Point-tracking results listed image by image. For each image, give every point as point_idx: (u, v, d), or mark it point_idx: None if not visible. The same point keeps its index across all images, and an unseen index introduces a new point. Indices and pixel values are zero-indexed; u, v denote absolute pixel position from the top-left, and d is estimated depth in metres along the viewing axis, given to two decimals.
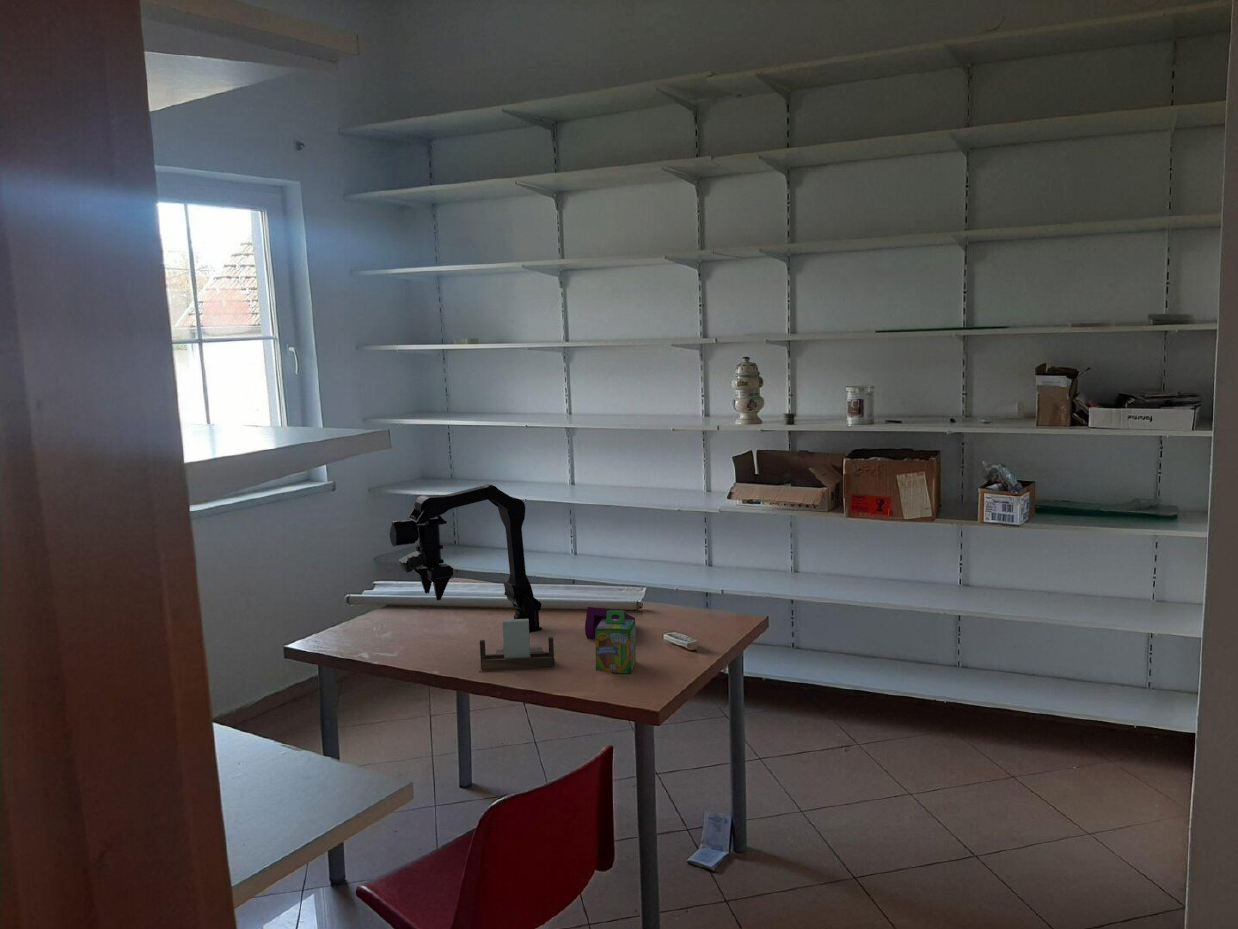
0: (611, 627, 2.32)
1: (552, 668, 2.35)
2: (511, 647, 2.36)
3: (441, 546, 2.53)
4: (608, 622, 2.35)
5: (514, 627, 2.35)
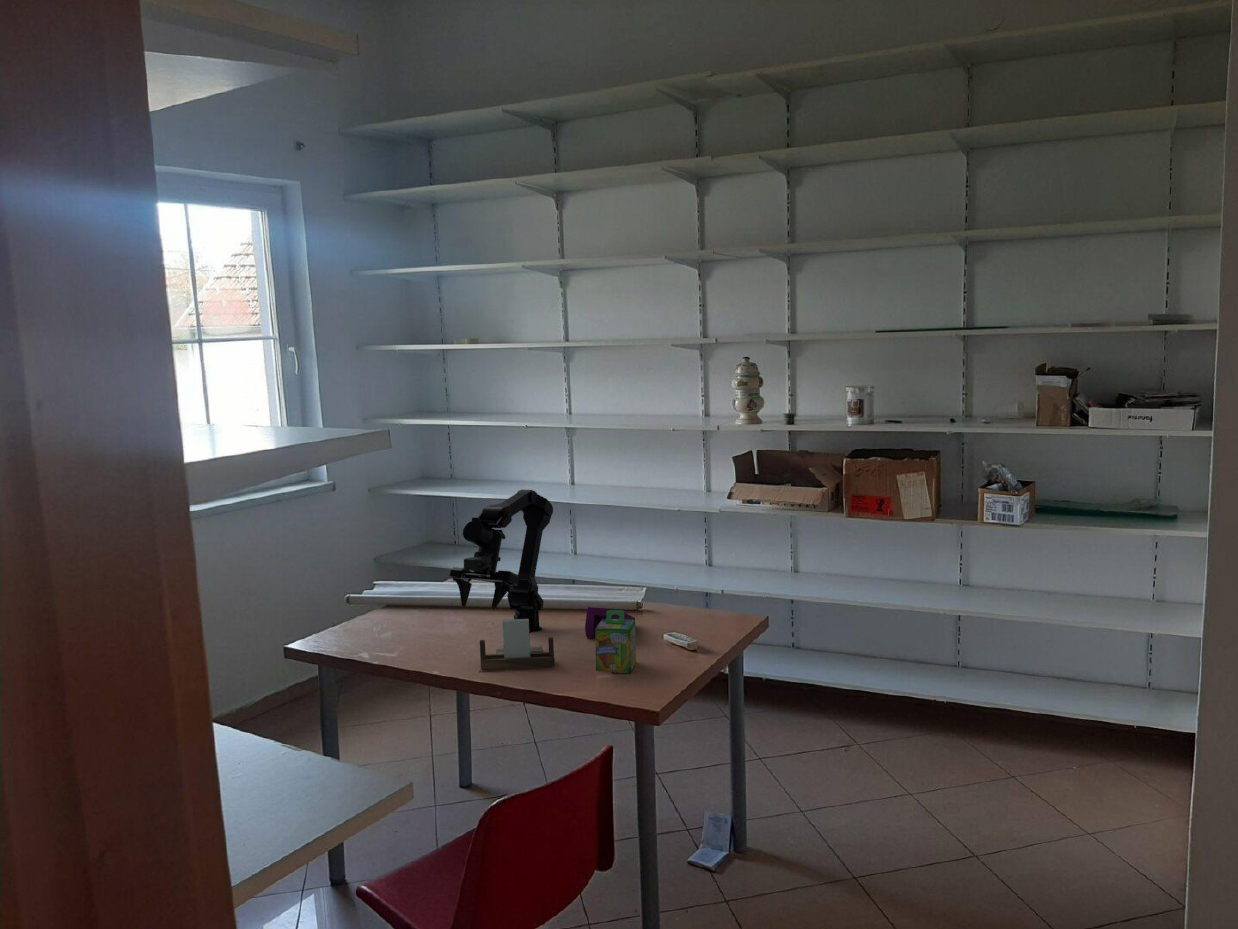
0: (611, 627, 2.32)
1: (552, 668, 2.35)
2: (511, 647, 2.36)
3: (499, 558, 2.51)
4: (608, 622, 2.35)
5: (514, 627, 2.35)
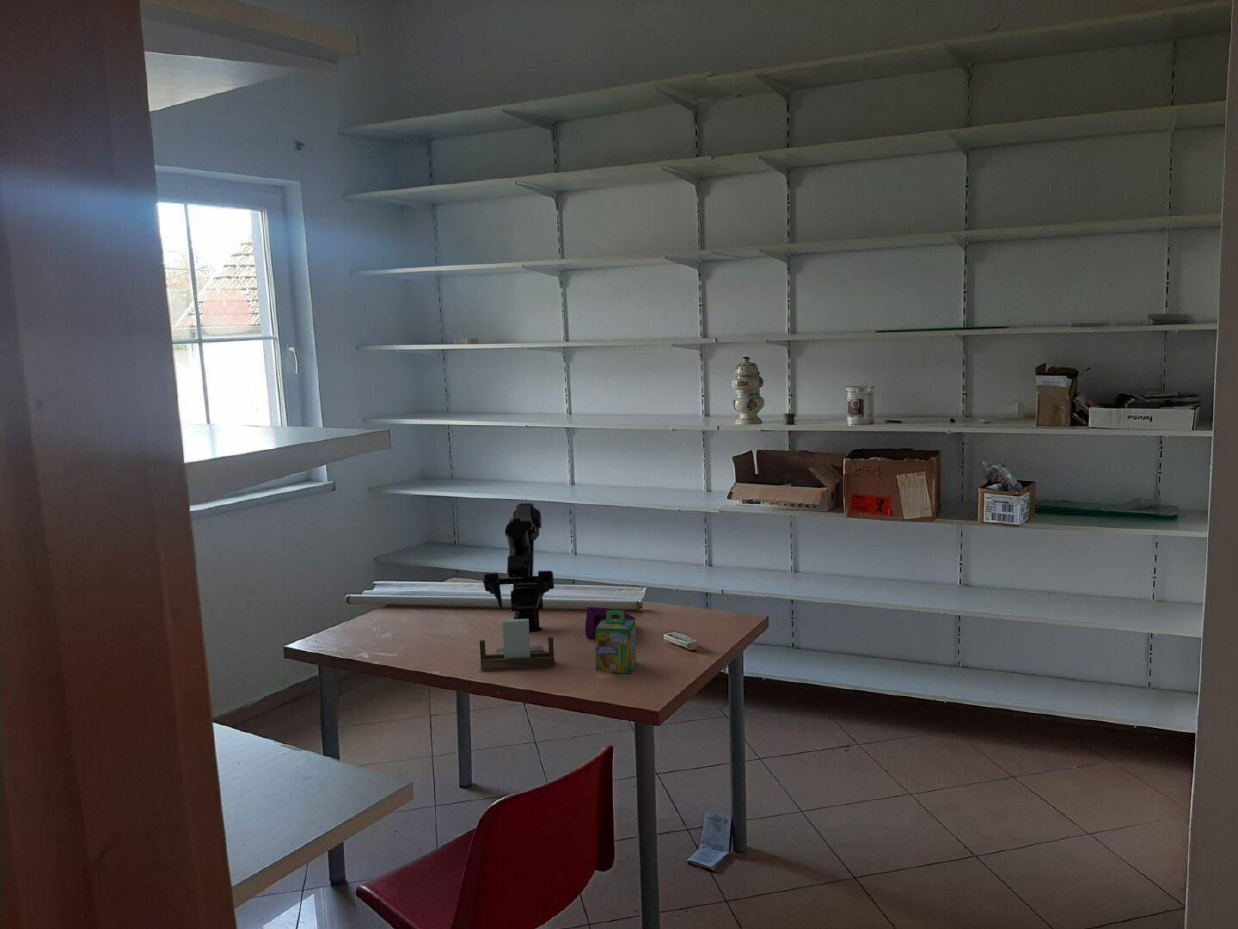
0: (611, 627, 2.32)
1: (552, 668, 2.35)
2: (511, 647, 2.36)
3: None
4: (608, 622, 2.35)
5: (514, 627, 2.35)
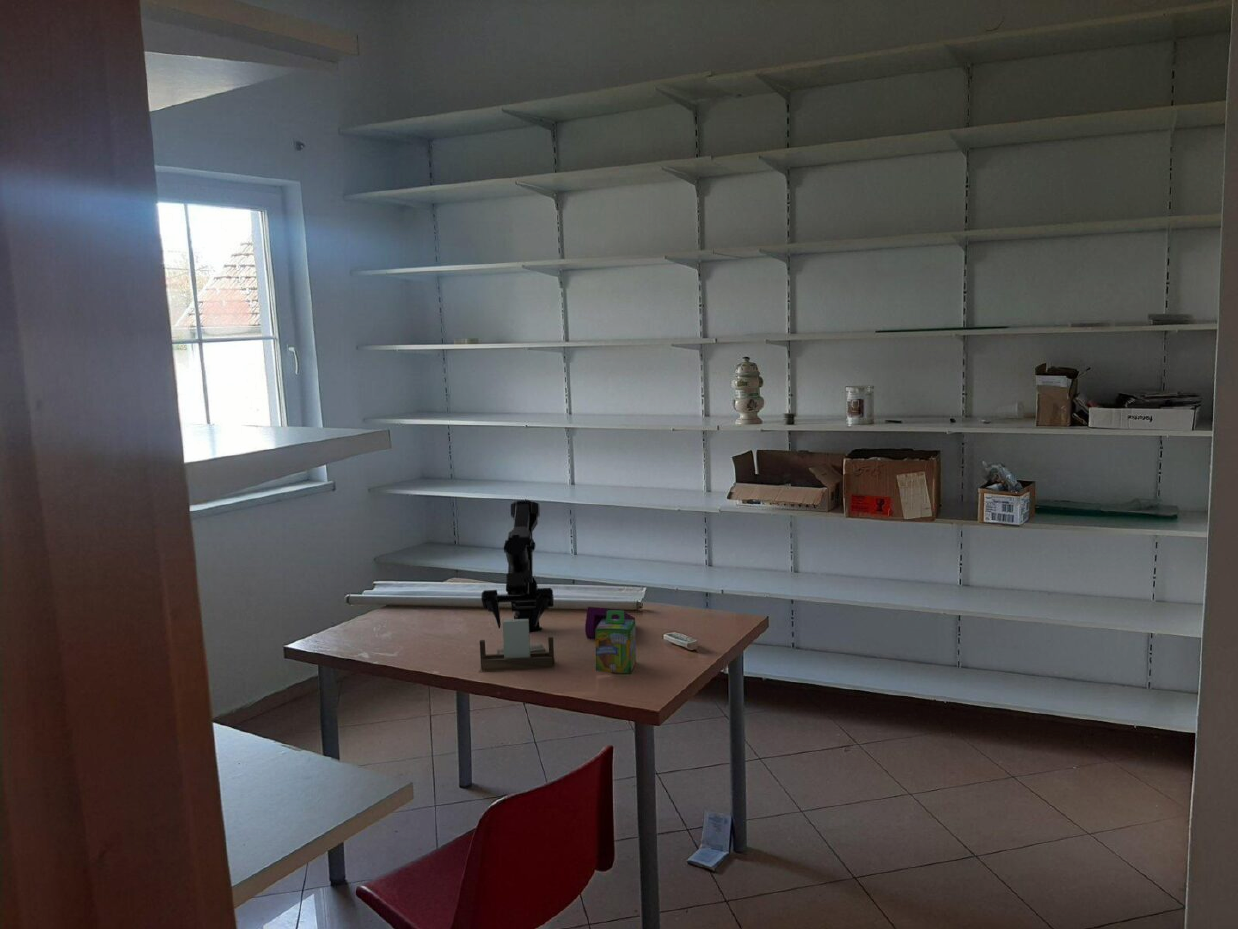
0: (611, 627, 2.32)
1: (552, 668, 2.35)
2: (511, 647, 2.36)
3: None
4: (608, 622, 2.35)
5: (514, 627, 2.35)
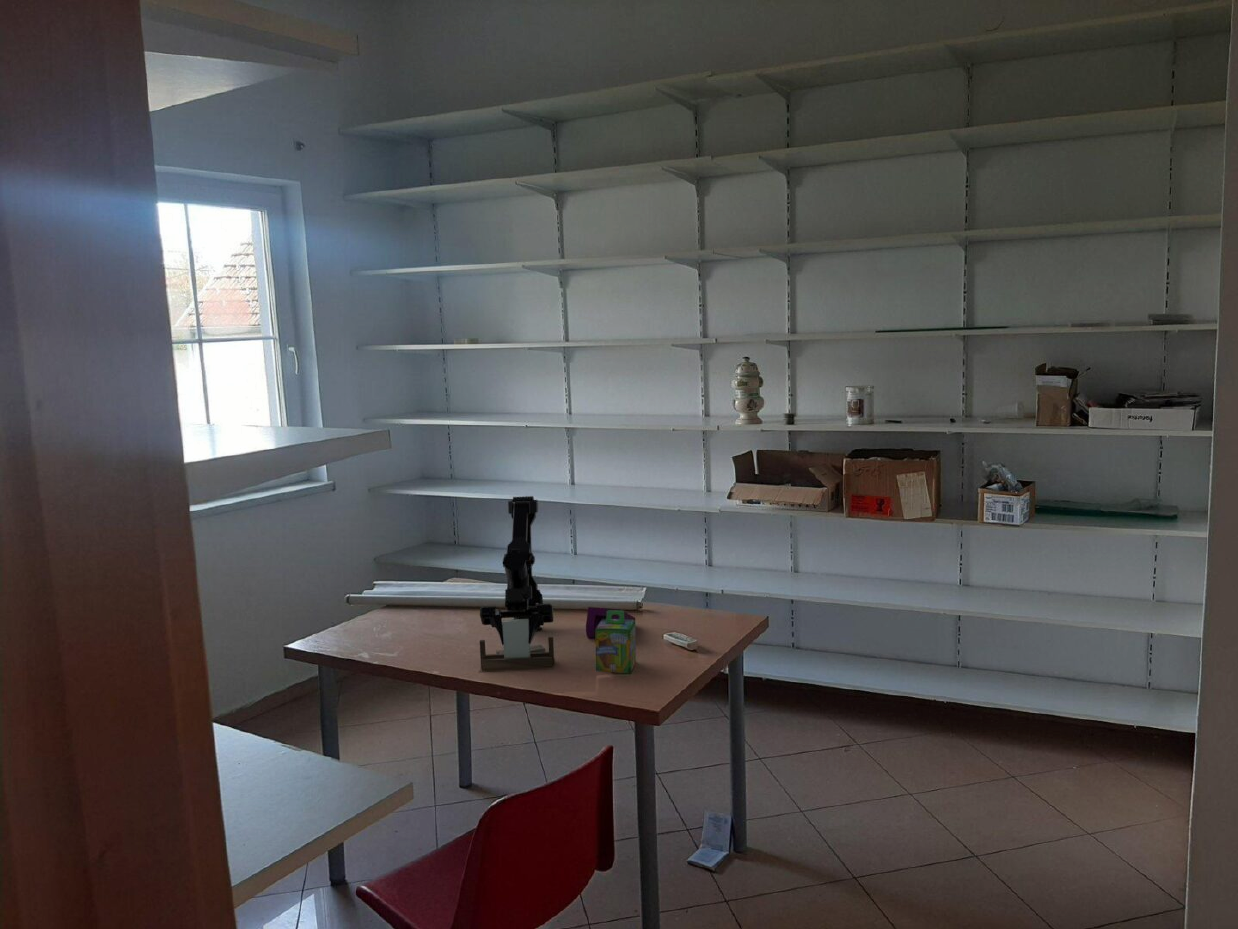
0: (611, 627, 2.32)
1: (552, 668, 2.35)
2: (511, 647, 2.36)
3: None
4: (608, 622, 2.35)
5: (514, 627, 2.35)
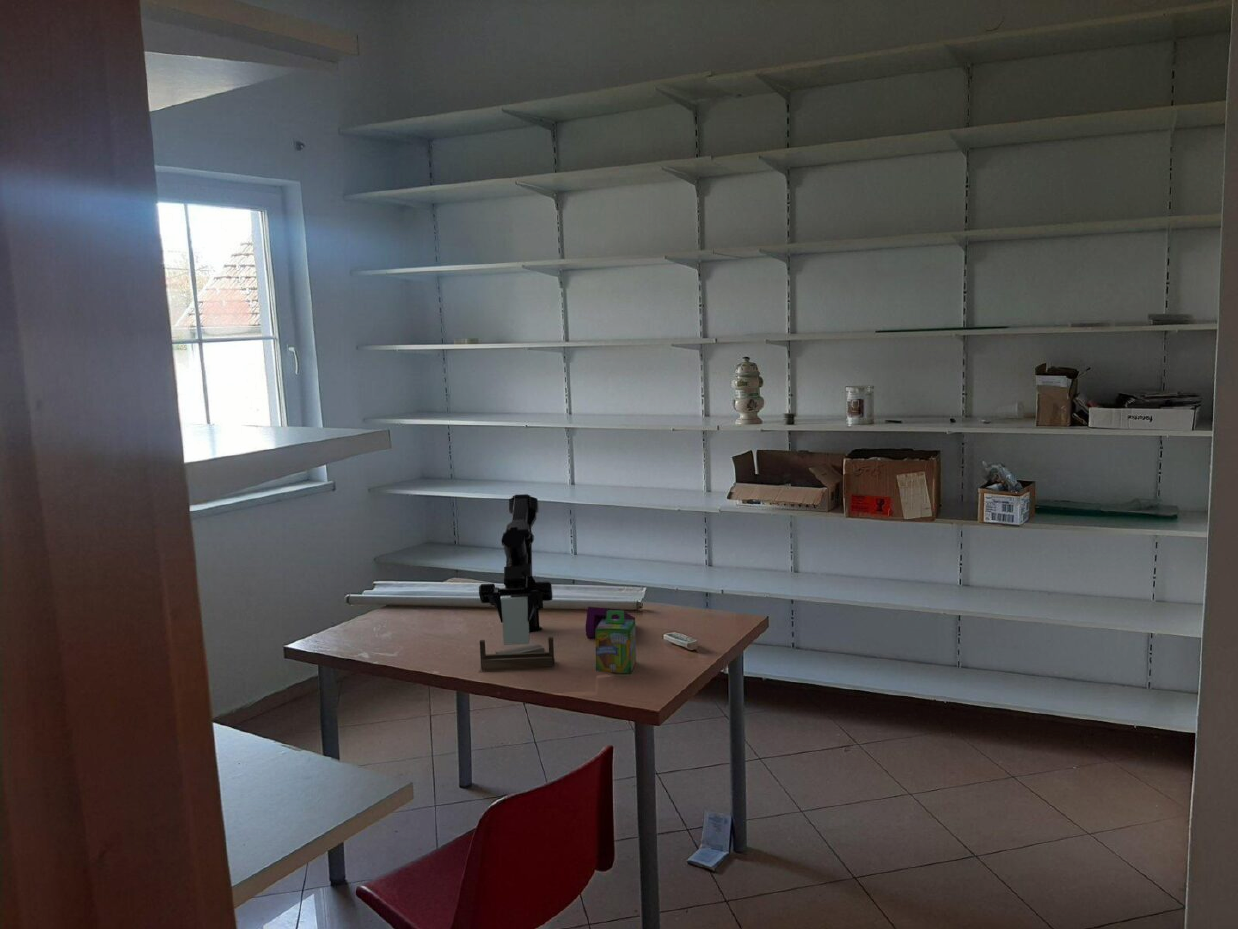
0: (611, 627, 2.32)
1: (552, 668, 2.35)
2: (510, 624, 2.35)
3: None
4: (608, 622, 2.35)
5: (513, 605, 2.35)
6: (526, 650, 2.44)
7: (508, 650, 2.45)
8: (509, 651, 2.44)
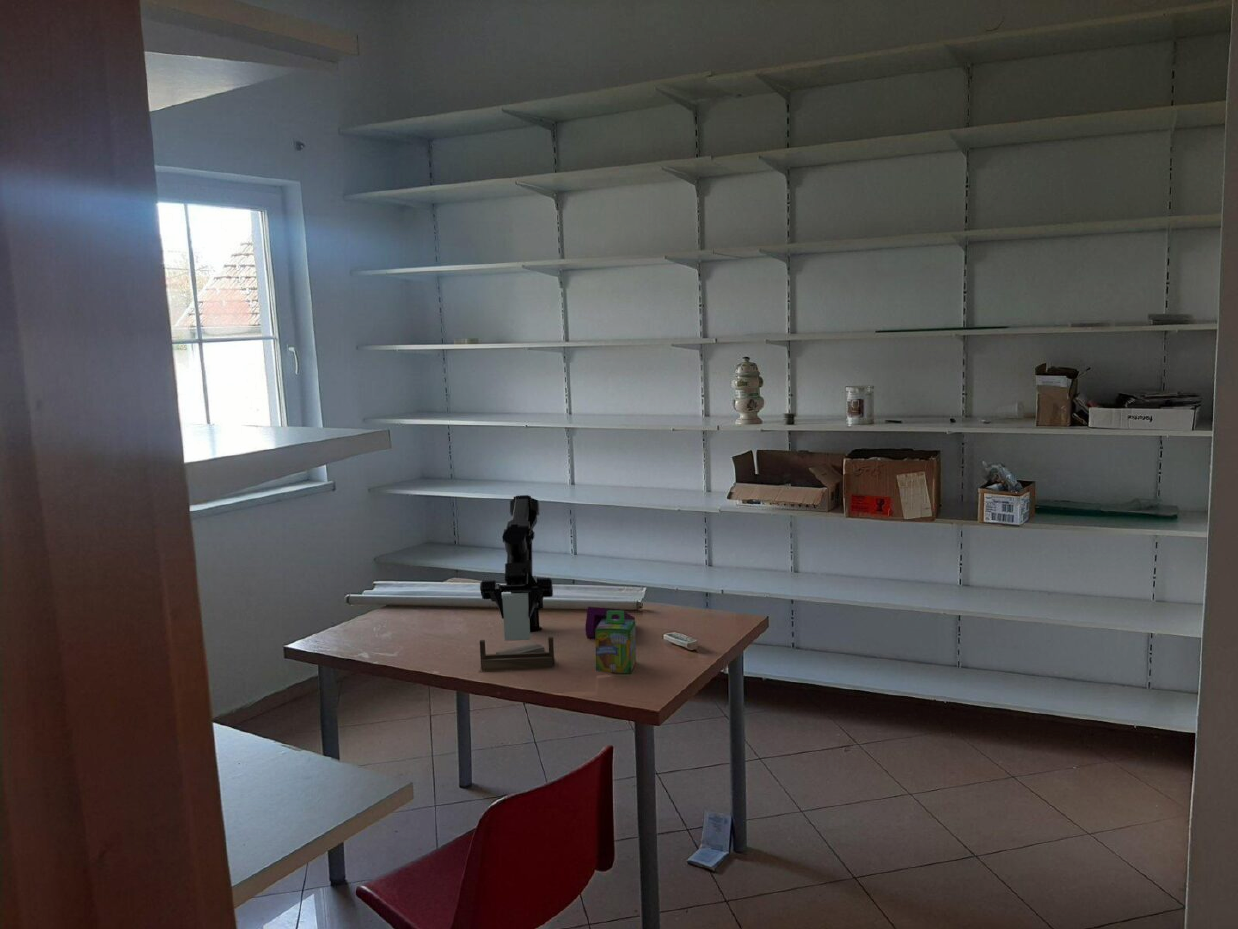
0: (611, 627, 2.32)
1: (552, 668, 2.35)
2: (511, 620, 2.38)
3: None
4: (608, 622, 2.35)
5: (514, 601, 2.37)
6: (526, 650, 2.44)
7: (508, 650, 2.45)
8: (510, 651, 2.44)
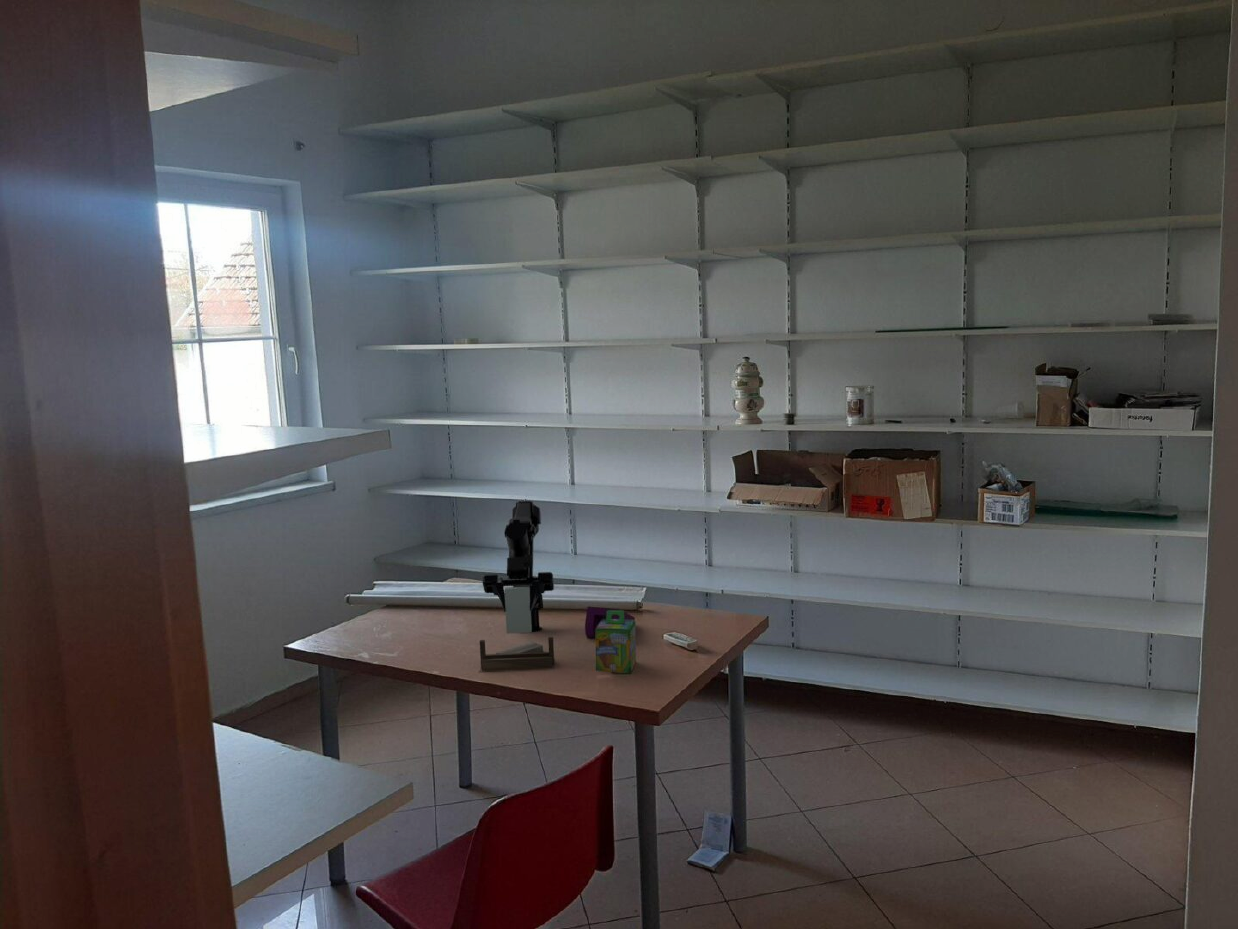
0: (611, 627, 2.32)
1: (552, 668, 2.35)
2: (513, 613, 2.43)
3: None
4: (608, 622, 2.35)
5: (516, 594, 2.42)
6: (527, 649, 2.45)
7: (508, 650, 2.45)
8: (510, 651, 2.44)
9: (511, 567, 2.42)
